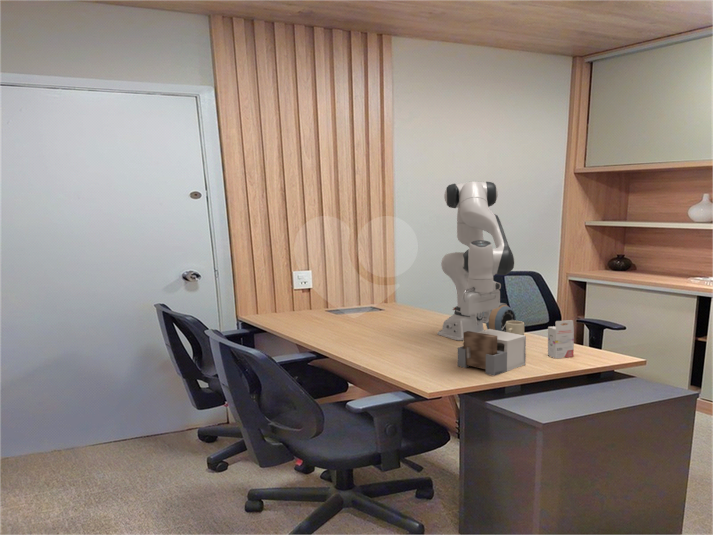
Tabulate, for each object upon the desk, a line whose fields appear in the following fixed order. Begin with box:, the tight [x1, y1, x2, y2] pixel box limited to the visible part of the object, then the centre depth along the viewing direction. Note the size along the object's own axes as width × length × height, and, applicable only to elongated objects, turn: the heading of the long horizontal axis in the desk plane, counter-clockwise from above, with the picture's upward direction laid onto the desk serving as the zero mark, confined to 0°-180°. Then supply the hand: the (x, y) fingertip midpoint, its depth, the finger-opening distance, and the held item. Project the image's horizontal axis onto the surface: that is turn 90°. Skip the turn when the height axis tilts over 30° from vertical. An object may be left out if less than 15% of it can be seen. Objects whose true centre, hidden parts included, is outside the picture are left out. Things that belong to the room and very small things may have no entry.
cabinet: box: [457, 328, 527, 377], centre depth 189 cm, size 16×20×11 cm
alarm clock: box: [485, 302, 517, 332], centre depth 222 cm, size 14×10×18 cm
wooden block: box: [462, 331, 497, 370], centre depth 184 cm, size 12×4×12 cm, turn 46°
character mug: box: [506, 320, 525, 335], centre depth 204 cm, size 11×7×13 cm, turn 138°
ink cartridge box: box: [547, 319, 575, 359], centre depth 200 cm, size 9×5×15 cm, turn 105°
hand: (480, 324), depth 184 cm, fingers open, 5 cm apart
